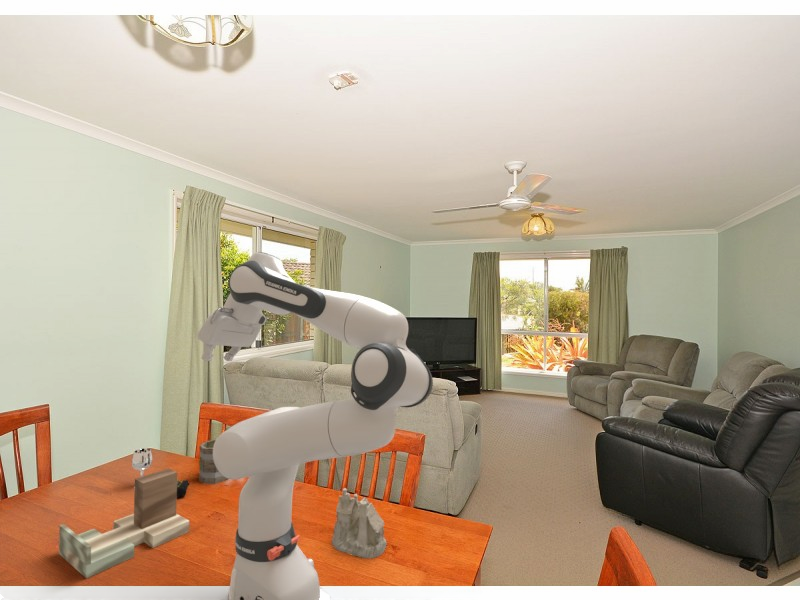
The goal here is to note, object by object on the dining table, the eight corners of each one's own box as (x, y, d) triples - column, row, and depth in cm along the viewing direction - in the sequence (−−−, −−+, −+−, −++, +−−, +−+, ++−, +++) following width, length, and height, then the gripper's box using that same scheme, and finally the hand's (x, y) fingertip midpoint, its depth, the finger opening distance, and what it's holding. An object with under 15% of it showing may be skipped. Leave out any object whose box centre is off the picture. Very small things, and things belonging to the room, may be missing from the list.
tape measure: (185, 499, 135) (186, 487, 135) (161, 501, 133) (161, 489, 133) (189, 489, 141) (189, 478, 141) (166, 492, 139) (166, 480, 139)
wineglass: (127, 488, 141) (128, 452, 141) (142, 481, 146) (143, 446, 146) (140, 491, 139) (141, 454, 139) (155, 484, 144) (156, 449, 144)
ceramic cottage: (370, 563, 104) (372, 500, 105) (319, 544, 112) (321, 486, 113) (403, 538, 117) (404, 481, 118) (355, 523, 125) (357, 470, 127)
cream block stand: (189, 531, 116) (189, 506, 116) (86, 578, 96) (87, 547, 96) (158, 514, 125) (159, 490, 125) (58, 553, 105) (59, 525, 105)
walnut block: (176, 515, 119) (177, 472, 119) (142, 529, 111) (143, 483, 111) (167, 510, 121) (168, 468, 121) (133, 523, 114) (134, 479, 114)
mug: (231, 481, 148) (232, 447, 148) (197, 486, 144) (198, 450, 144) (231, 465, 162) (232, 433, 162) (200, 468, 158) (201, 436, 158)
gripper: (228, 311, 98) (201, 366, 97) (269, 320, 118) (247, 365, 117) (207, 300, 100) (179, 353, 99) (251, 310, 120) (228, 355, 119)
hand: (216, 360), depth 108 cm, fingers open, 8 cm apart
